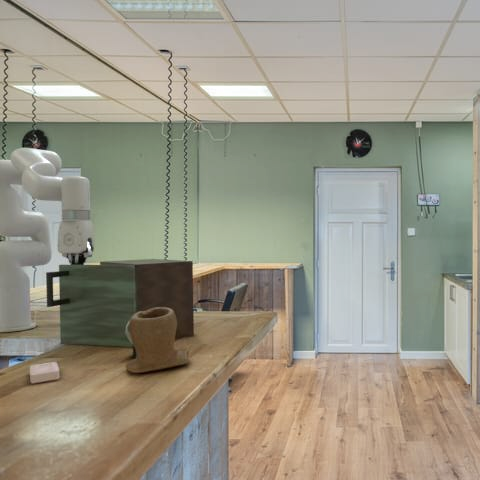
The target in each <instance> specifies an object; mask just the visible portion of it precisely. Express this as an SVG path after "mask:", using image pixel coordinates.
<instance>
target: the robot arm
mask: <svg viewBox="0 0 480 480" xmlns="http://www.w3.org/2000/svg"><path fill="white" fill-rule="evenodd" d="M62 168H63V162H62V158H61V157H60V156H59V154H58V153H56V152H55V151H52V150H46V149H38V148H32V147H19V148H16V149H14V150H12V152H11V154H10V157H9V159H0V236H1V237H4V238H30V239H28V240H27V239H26V240H25V239H18V240H17V239H15V240H14V239H13V240H2V241H0V333H10V332H21V331H26V330H30V329H34V328H36V327H37V323H36V322H32V321H31V280H30V277H29V274H27V273H26V272H25V270H24V269H23V268H25V267H38V266H40V267H41V266H46V265H48V264H49V263H50V262H51V260H52V255H53V253H52V251H53V250H52V240H51V231H50V223H49V220H48V218H47V215H45V214H44V213H43V212H40V211H34V210H33V211H32V210H24V206H23V198H22V196H21V194H20V193H19V192H18V191H17V190H16V189H15V188H14V186H12V185H17V186H22V188H23V190H24V191H25V192H26V194H28V195H29V196H31V198H32V199H35V200H38V201H44V202H45V201H48V202H49V201H50V202H61V215H60V216H61V221H59V225H58V231H57V246H56V247H57V252H58V253H59V254H61V257H63V258H65V259H67V260H68V263H69V264H70V265H85V263H86V261H87V259H88V258H91V257H93V252H94V250H95V234H94V228H93V222H92V220H91V184H90V183H91V182H90V180H89V178H87V177H84V176H80V175H79V176H78V175H65V176H63V177H61V176H58V174H60V172H61V170H62Z"/></svg>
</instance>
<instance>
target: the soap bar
mask: <svg viewBox="0 0 480 480" xmlns="http://www.w3.org/2000/svg"><path fill="white" fill-rule="evenodd" d="M29 379H30V384H33V385H34V384H39V383H45V382H52V381H58V380H59V379H60V368H59V365H58V362H56V361H51V362H43V363H36V364H31V365H30V366H29Z"/></svg>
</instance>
